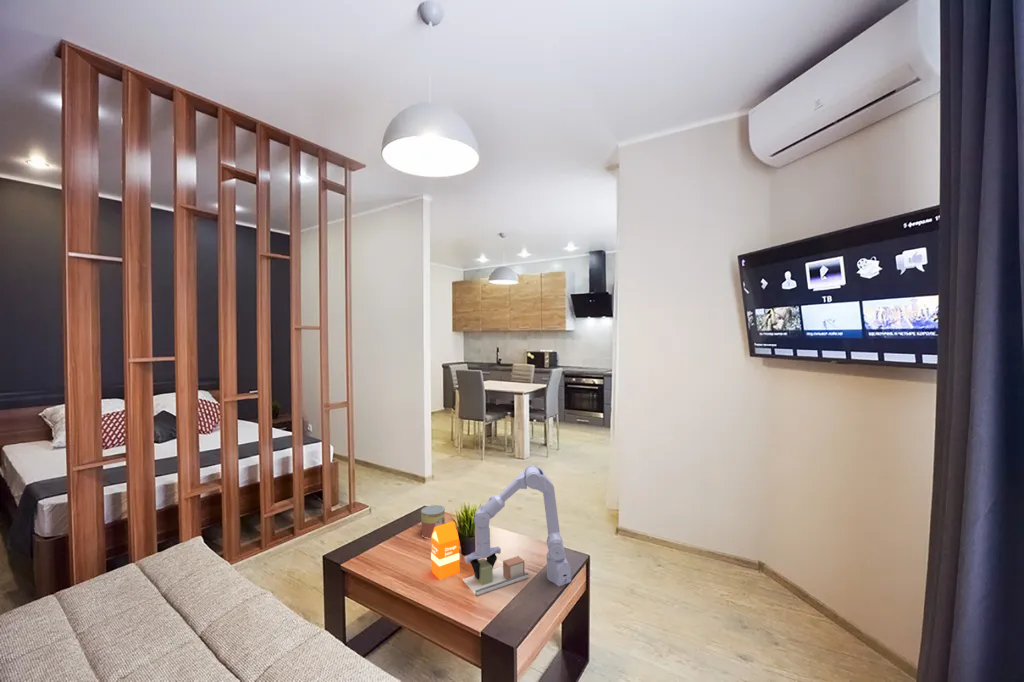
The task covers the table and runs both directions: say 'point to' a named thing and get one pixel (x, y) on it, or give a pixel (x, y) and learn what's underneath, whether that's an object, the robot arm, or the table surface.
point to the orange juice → (445, 551)
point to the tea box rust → (513, 567)
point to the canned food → (432, 519)
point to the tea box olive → (485, 572)
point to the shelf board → (496, 584)
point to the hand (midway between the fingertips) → (483, 576)
